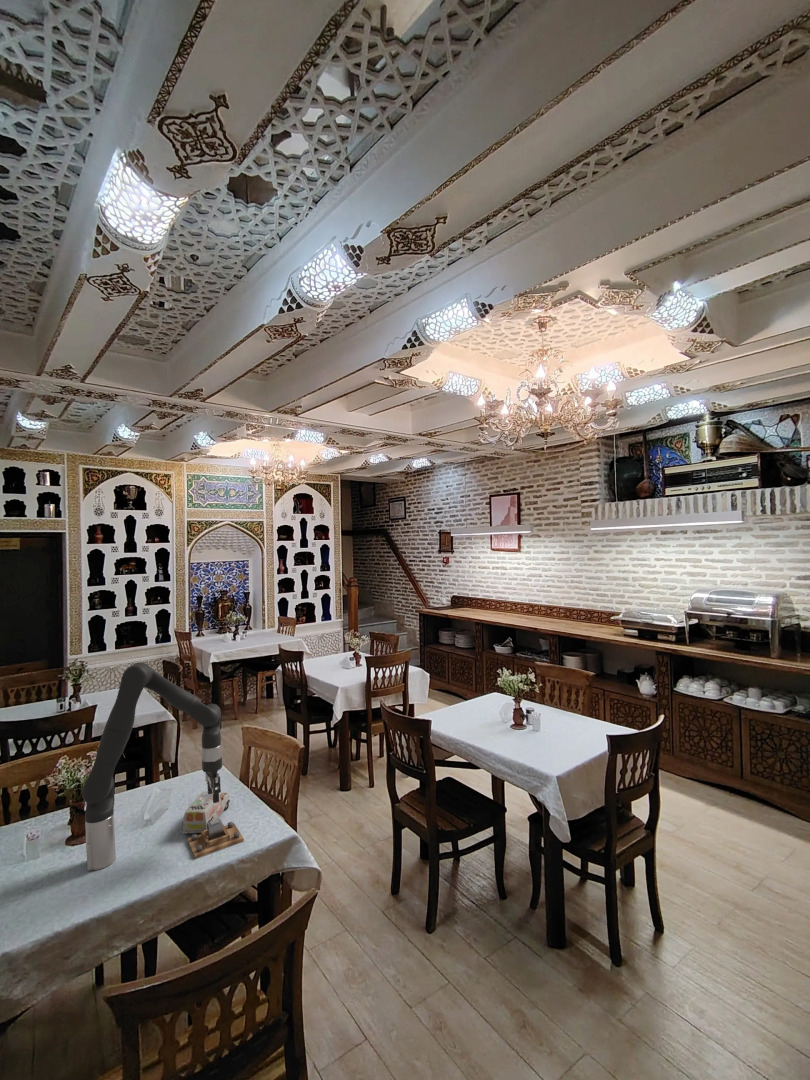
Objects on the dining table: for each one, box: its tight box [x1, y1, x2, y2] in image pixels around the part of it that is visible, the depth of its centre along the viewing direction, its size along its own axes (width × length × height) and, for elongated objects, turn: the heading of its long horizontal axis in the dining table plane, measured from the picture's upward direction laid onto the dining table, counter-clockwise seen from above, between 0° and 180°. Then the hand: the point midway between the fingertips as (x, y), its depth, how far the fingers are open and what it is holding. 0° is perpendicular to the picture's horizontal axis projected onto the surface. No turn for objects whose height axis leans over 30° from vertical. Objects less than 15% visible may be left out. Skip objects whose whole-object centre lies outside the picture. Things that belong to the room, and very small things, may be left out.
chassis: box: [187, 821, 245, 860], centre depth 201 cm, size 18×14×3 cm
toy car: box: [182, 791, 231, 834], centre depth 217 cm, size 11×25×10 cm, turn 177°
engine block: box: [207, 818, 224, 841], centre depth 201 cm, size 5×4×7 cm
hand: (213, 798), depth 201 cm, fingers open, 8 cm apart
